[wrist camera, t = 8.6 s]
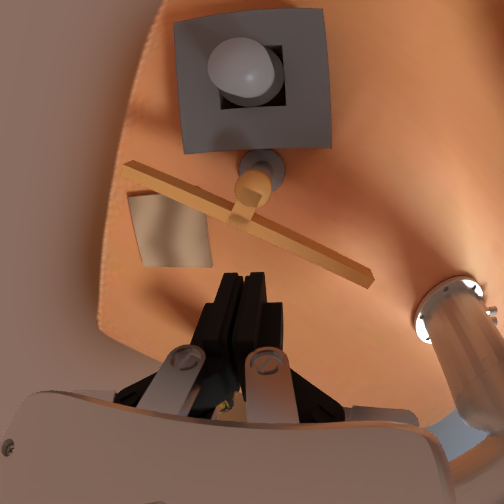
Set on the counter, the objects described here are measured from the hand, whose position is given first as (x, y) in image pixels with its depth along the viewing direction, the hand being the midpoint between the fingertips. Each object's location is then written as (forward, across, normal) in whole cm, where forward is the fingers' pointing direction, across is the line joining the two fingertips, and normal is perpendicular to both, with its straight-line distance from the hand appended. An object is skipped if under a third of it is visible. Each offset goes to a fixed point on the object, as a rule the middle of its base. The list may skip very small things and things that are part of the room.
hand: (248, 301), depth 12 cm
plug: (+22, +1, -11) cm, 24 cm away
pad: (+22, +13, +6) cm, 26 cm away
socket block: (+22, +1, -8) cm, 23 cm away
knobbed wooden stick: (+15, +1, 0) cm, 15 cm away
